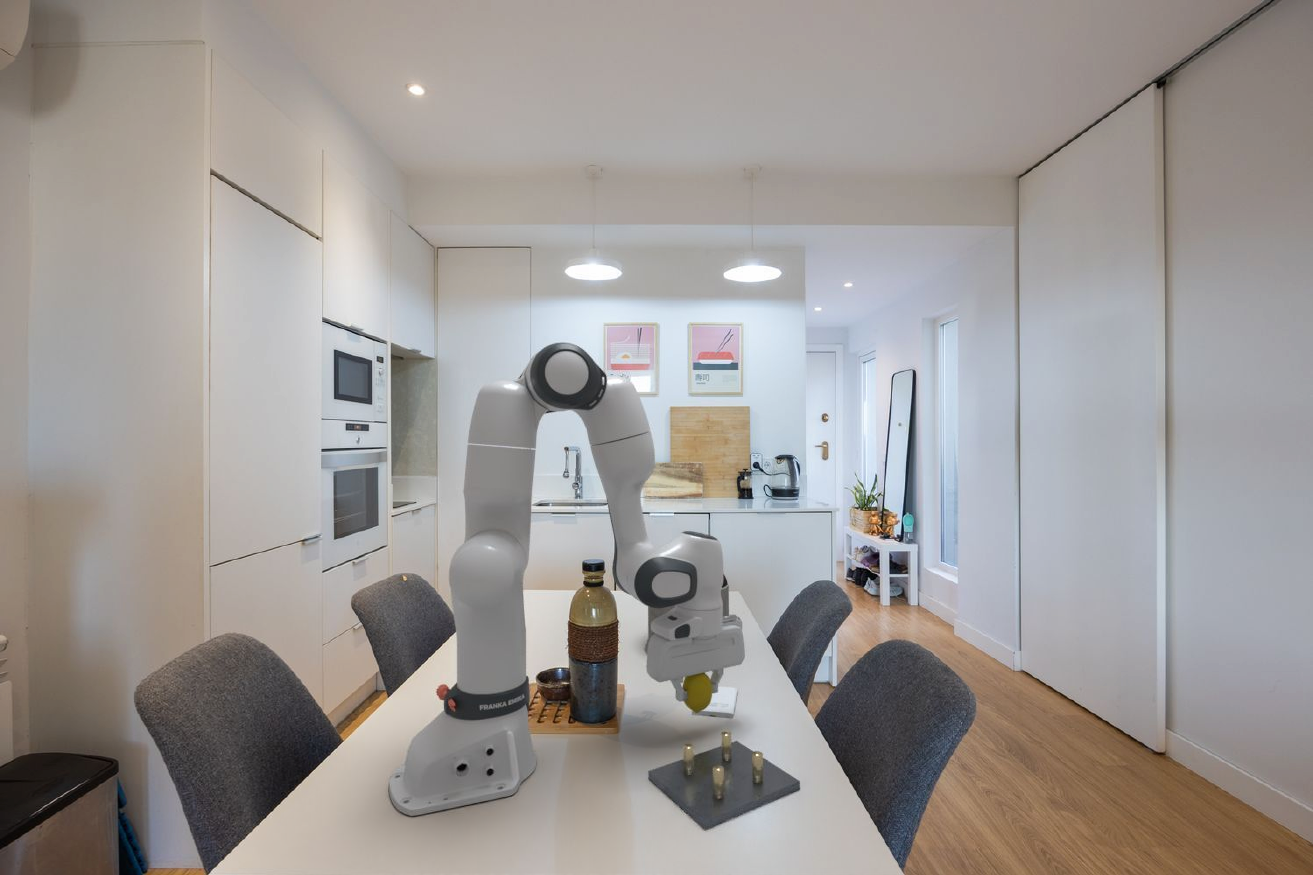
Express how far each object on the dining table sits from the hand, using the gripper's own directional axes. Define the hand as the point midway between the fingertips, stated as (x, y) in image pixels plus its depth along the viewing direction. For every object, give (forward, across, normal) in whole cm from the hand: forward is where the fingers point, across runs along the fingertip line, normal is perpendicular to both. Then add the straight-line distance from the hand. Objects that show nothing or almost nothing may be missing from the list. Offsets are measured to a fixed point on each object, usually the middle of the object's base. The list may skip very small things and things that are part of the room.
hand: (696, 696), depth 108 cm
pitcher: (+7, -23, -35) cm, 43 cm away
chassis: (+7, +6, +16) cm, 18 cm away
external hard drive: (+7, -11, -8) cm, 16 cm away
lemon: (+3, 0, 0) cm, 3 cm away
